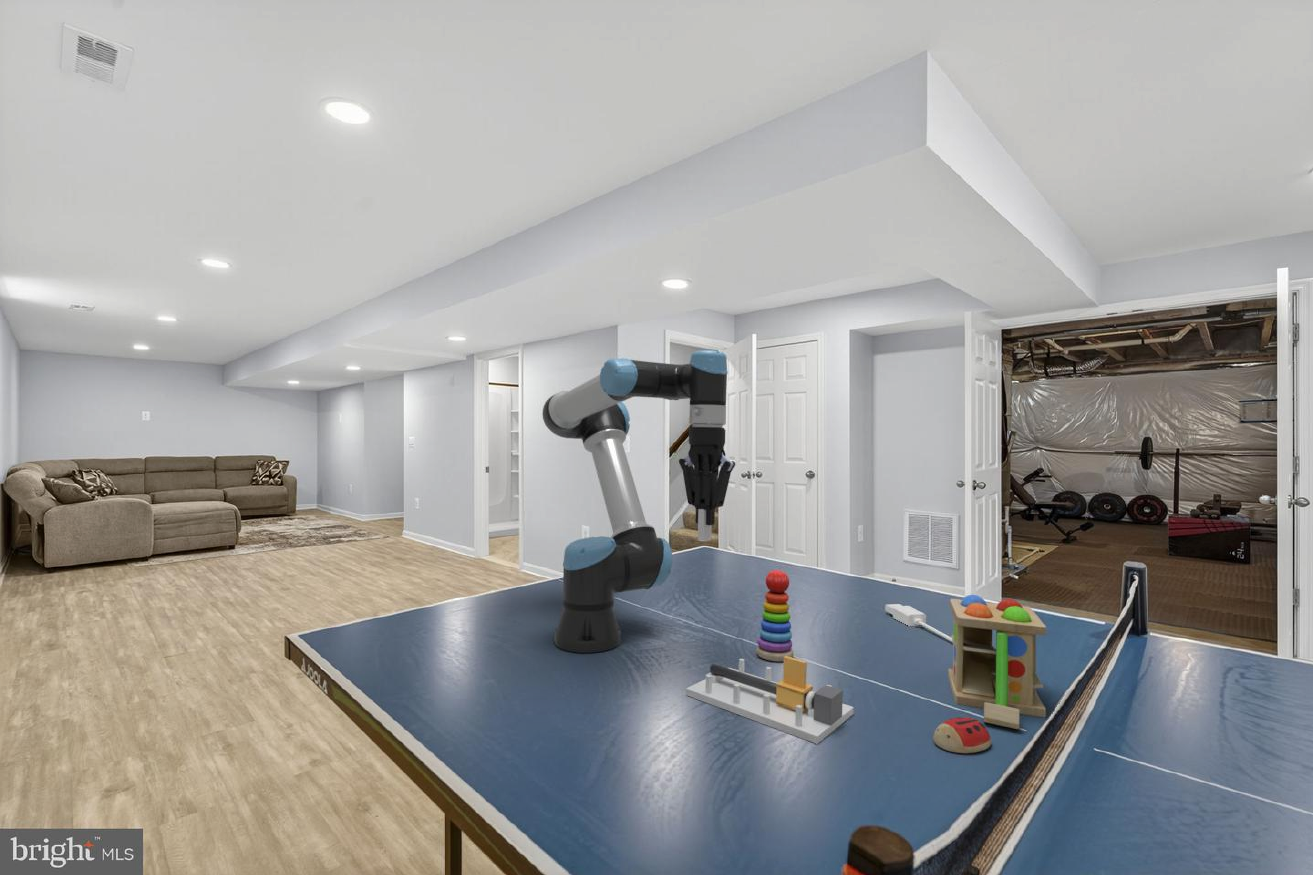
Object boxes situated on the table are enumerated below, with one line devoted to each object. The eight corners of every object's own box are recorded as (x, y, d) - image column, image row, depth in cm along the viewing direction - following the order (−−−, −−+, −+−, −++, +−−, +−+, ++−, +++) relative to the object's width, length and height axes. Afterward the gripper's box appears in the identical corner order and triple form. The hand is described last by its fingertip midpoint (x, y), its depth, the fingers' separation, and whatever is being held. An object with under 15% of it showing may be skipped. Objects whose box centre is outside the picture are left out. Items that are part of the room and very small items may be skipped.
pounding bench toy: (1059, 741, 97) (1061, 630, 97) (960, 724, 102) (962, 618, 102) (1028, 687, 118) (1030, 595, 118) (947, 675, 124) (949, 587, 124)
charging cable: (967, 662, 134) (968, 647, 134) (883, 613, 166) (884, 601, 166) (987, 660, 135) (988, 646, 135) (900, 612, 167) (900, 600, 167)
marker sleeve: (776, 703, 105) (777, 658, 105) (786, 697, 108) (787, 652, 108) (802, 712, 102) (803, 665, 102) (812, 705, 105) (813, 660, 105)
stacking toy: (793, 664, 127) (795, 575, 127) (755, 661, 129) (757, 573, 129) (793, 651, 135) (794, 568, 135) (756, 648, 137) (758, 565, 137)
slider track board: (685, 694, 111) (686, 664, 111) (728, 673, 122) (729, 645, 122) (817, 744, 94) (818, 708, 94) (853, 713, 105) (854, 681, 105)
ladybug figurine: (922, 740, 97) (922, 718, 97) (966, 729, 101) (967, 708, 101) (957, 761, 91) (958, 737, 91) (1003, 748, 95) (1004, 726, 95)
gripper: (671, 425, 126) (668, 538, 126) (723, 426, 118) (720, 547, 118) (693, 426, 132) (690, 534, 132) (744, 427, 123) (741, 542, 124)
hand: (704, 540), depth 125 cm, fingers closed
